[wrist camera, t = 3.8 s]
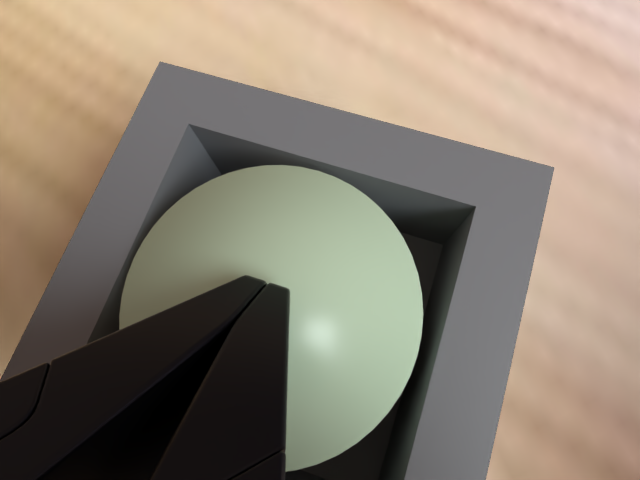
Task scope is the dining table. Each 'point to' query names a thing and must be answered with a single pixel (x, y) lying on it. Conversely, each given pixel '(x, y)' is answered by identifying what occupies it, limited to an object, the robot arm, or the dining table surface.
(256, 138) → the grey button housing
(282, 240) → the green button
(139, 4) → the dining table surface
